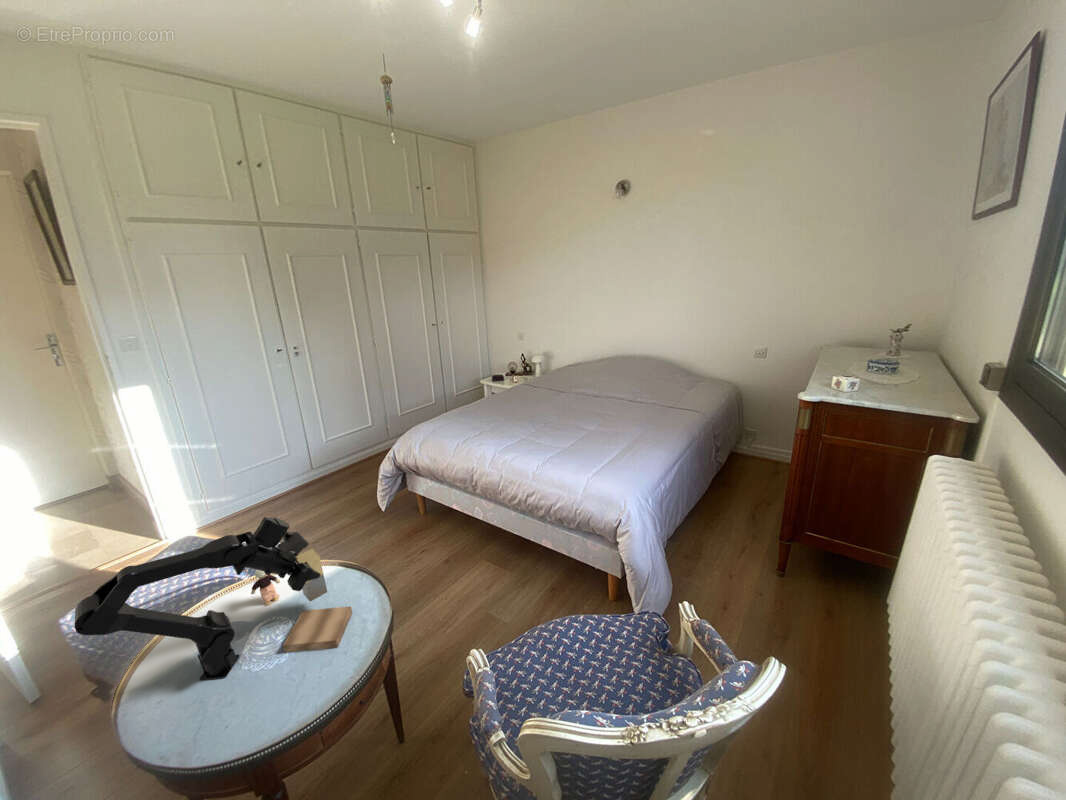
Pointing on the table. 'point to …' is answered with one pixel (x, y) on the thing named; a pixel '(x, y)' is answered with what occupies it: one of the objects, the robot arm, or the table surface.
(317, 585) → the yellow grey tall block
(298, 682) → the table surface
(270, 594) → the grandmother figurine
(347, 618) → the walnut plinth
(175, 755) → the table surface
